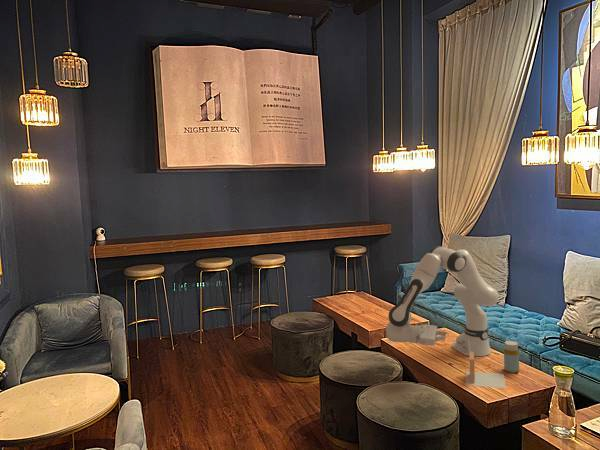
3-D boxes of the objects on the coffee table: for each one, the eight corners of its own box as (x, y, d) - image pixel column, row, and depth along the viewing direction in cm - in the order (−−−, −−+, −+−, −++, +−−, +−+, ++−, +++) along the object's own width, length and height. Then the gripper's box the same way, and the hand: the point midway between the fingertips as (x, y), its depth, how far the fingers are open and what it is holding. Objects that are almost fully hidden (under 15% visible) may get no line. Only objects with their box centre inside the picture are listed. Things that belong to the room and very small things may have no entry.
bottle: (520, 374, 243) (520, 345, 241) (506, 373, 245) (505, 345, 243) (517, 368, 250) (516, 340, 248) (503, 368, 251) (502, 340, 250)
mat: (465, 386, 235) (465, 385, 235) (466, 372, 250) (466, 371, 250) (505, 389, 229) (505, 388, 229) (503, 374, 244) (503, 373, 244)
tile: (470, 382, 237) (469, 359, 235) (470, 373, 246) (469, 351, 245) (474, 382, 236) (474, 359, 235) (474, 374, 245) (473, 351, 244)
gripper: (415, 335, 237) (444, 337, 233) (419, 322, 256) (446, 323, 252) (415, 348, 238) (444, 349, 233) (419, 333, 257) (446, 334, 252)
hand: (445, 335), depth 243 cm, fingers open, 5 cm apart
